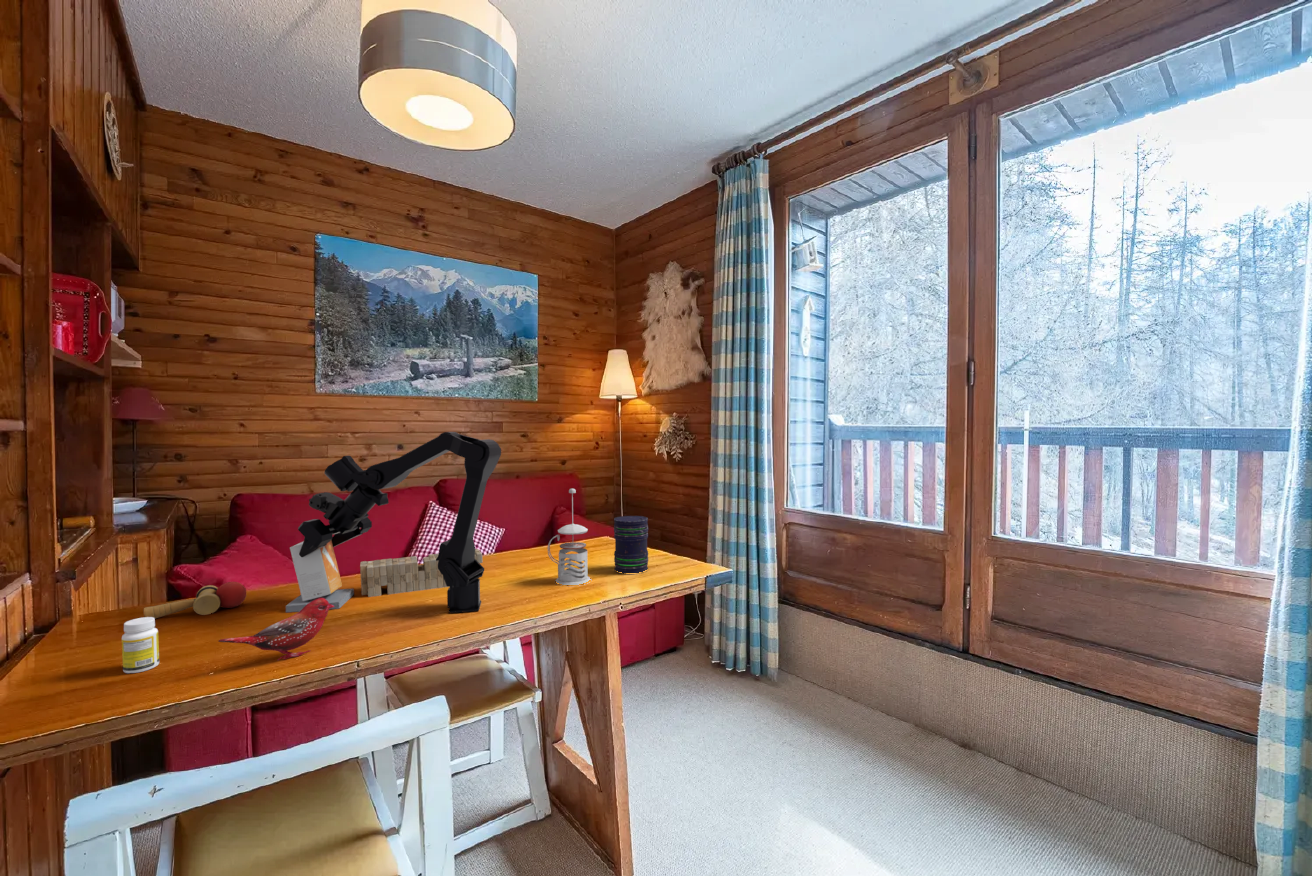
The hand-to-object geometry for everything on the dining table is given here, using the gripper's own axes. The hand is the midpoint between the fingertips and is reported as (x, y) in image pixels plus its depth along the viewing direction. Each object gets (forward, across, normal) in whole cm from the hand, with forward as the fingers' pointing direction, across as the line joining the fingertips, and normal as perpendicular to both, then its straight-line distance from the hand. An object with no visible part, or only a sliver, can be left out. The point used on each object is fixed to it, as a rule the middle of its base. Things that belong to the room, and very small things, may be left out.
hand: (315, 551), depth 133 cm
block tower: (-4, -16, +22) cm, 27 cm away
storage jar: (-40, -37, +59) cm, 80 cm away
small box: (+6, 0, +8) cm, 10 cm away
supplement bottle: (+13, +36, +5) cm, 39 cm away
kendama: (+25, +9, -7) cm, 27 cm away
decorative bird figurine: (-3, +31, +21) cm, 37 cm away
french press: (-30, -24, +48) cm, 62 cm away
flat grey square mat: (+8, 0, +10) cm, 12 cm away
